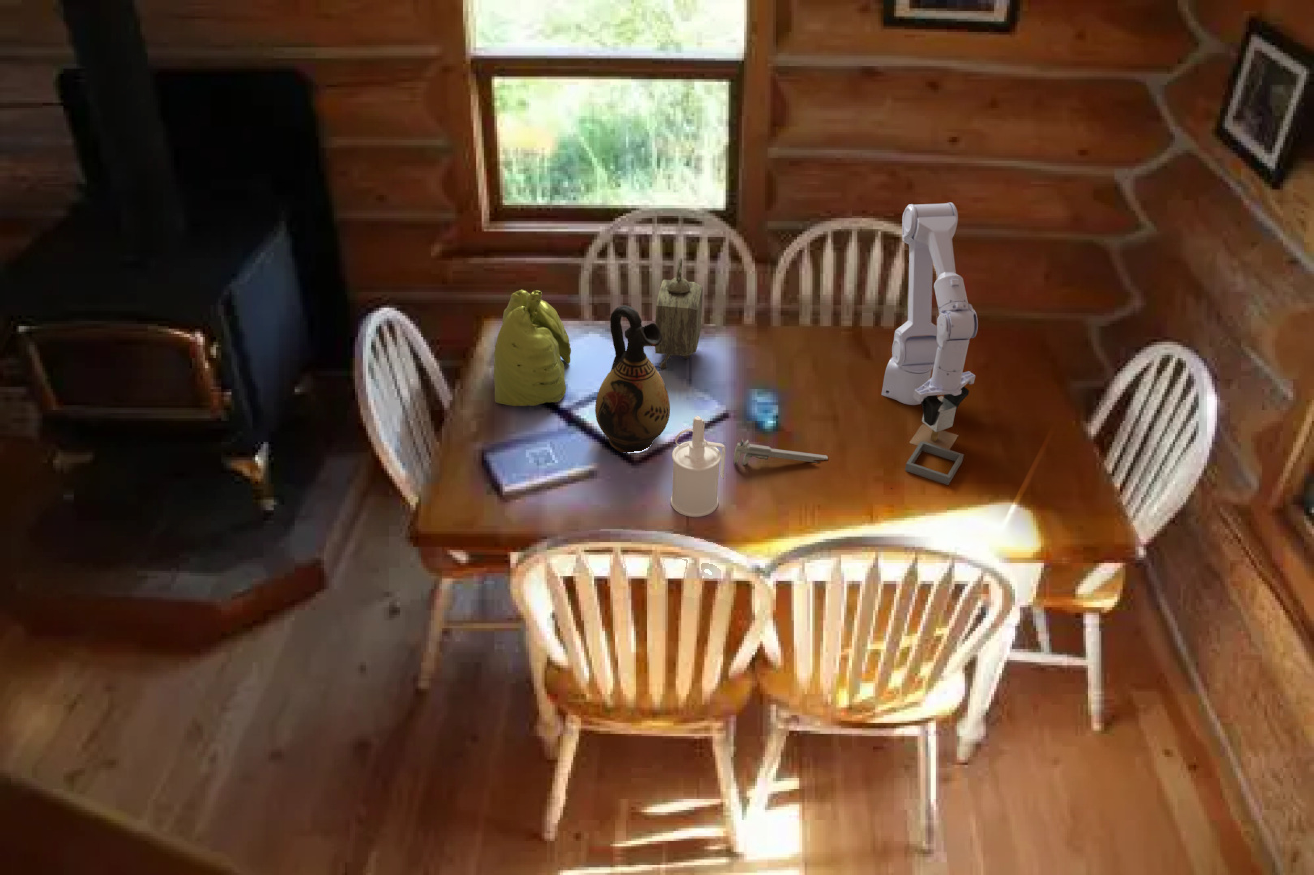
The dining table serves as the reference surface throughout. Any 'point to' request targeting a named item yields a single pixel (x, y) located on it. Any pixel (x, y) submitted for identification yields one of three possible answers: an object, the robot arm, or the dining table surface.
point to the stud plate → (934, 437)
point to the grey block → (943, 416)
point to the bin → (931, 473)
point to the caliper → (771, 453)
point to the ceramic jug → (632, 387)
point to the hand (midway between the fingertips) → (937, 419)
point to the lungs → (530, 352)
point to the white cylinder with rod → (696, 473)
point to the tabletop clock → (678, 316)
